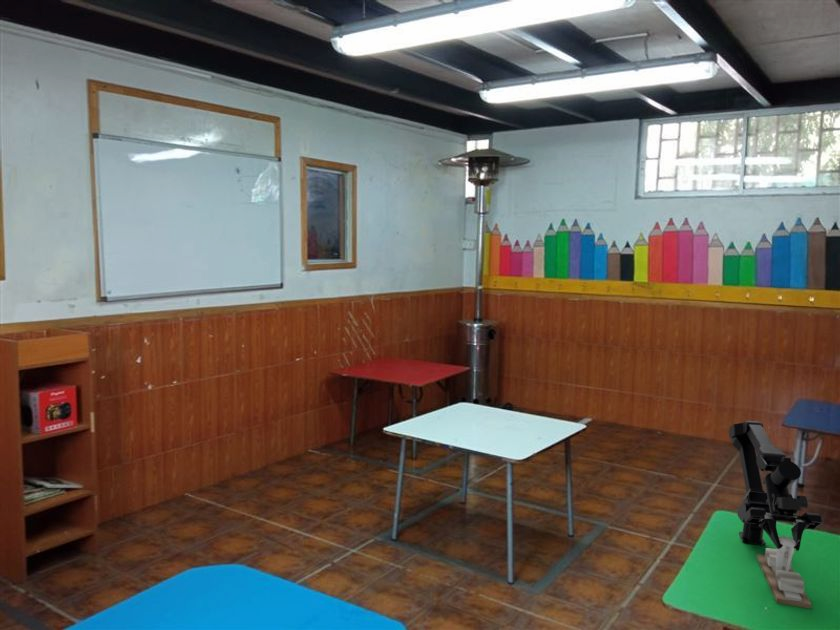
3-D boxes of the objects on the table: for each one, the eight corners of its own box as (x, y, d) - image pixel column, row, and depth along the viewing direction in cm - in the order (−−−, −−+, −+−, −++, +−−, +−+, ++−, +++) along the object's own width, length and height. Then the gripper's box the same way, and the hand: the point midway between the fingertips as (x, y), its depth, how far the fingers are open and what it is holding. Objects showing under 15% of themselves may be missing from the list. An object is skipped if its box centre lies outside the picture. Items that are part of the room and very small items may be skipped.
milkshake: (789, 576, 181) (795, 542, 179) (769, 567, 185) (775, 533, 183) (797, 571, 183) (803, 537, 182) (778, 562, 188) (783, 529, 186)
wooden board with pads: (756, 557, 197) (758, 541, 196) (786, 562, 195) (789, 546, 194) (776, 602, 174) (778, 584, 173) (811, 608, 172) (813, 590, 171)
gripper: (752, 479, 185) (761, 536, 176) (825, 486, 183) (838, 544, 174) (740, 494, 194) (748, 549, 185) (809, 501, 192) (820, 556, 183)
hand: (788, 549), depth 182 cm, fingers closed on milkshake, 4 cm apart
